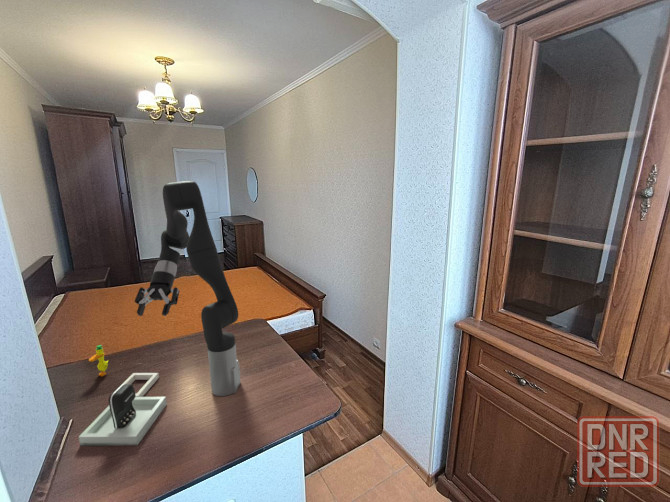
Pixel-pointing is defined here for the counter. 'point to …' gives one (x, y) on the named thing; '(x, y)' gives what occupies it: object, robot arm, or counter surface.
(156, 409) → the tray
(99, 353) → the toy figure
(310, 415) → the counter surface
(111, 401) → the battery charger
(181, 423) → the counter surface
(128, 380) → the white rectangular frame
